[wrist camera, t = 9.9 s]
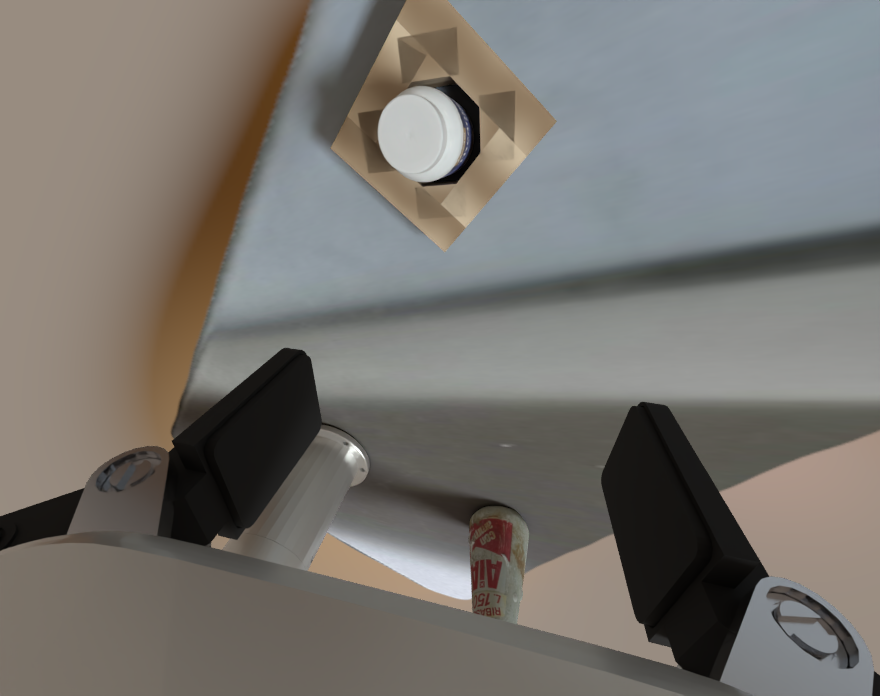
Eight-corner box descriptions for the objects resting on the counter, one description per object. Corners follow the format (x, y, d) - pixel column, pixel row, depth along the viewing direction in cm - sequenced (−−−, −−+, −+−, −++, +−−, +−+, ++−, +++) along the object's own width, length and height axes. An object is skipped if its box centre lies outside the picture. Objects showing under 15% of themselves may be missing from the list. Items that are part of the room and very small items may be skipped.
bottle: (500, 544, 55) (484, 841, 32) (459, 515, 53) (409, 806, 30) (541, 527, 51) (558, 857, 27) (497, 494, 49) (475, 817, 25)
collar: (451, 242, 32) (444, 252, 29) (349, 147, 29) (330, 148, 27) (552, 124, 26) (556, 121, 23) (433, -7, 23) (421, -29, 20)
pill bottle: (480, 167, 28) (463, 175, 20) (420, 182, 30) (382, 195, 22) (468, 88, 26) (443, 62, 18) (403, 110, 27) (353, 94, 19)
